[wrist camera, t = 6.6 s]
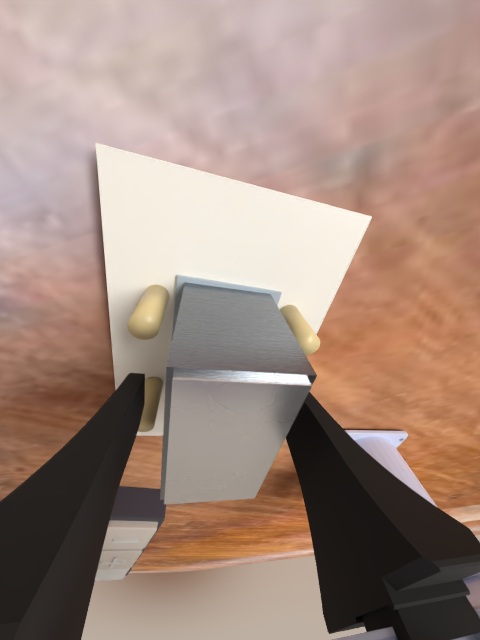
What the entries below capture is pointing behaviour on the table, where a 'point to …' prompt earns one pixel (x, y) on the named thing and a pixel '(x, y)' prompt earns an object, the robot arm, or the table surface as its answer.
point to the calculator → (129, 530)
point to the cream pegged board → (208, 256)
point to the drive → (228, 394)
